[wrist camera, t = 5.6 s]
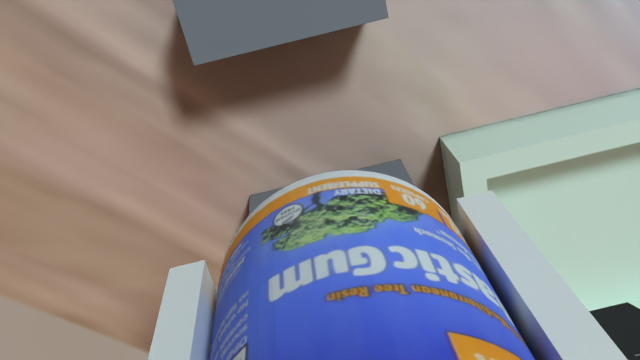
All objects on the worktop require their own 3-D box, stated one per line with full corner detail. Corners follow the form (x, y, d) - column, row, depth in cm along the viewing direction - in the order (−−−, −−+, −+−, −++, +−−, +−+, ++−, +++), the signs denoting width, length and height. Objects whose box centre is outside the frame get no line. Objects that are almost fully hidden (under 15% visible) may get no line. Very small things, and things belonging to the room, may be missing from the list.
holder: (184, -16, 23) (169, -2, 19) (360, -60, 23) (378, -54, 19) (263, 240, 28) (263, 289, 24) (408, 204, 28) (430, 249, 24)
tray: (439, 137, 27) (459, 163, 24) (707, 71, 26) (758, 90, 24) (470, 345, 32) (489, 386, 29) (694, 292, 32) (735, 328, 29)
